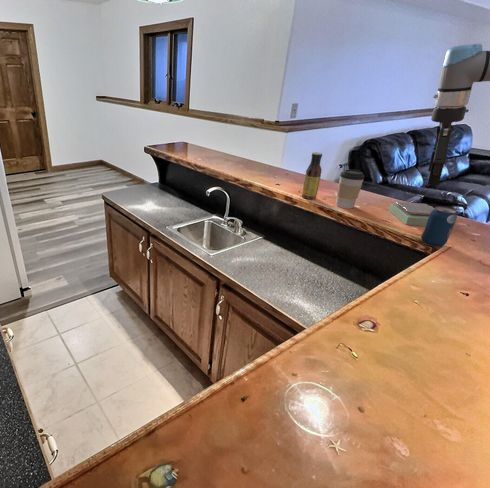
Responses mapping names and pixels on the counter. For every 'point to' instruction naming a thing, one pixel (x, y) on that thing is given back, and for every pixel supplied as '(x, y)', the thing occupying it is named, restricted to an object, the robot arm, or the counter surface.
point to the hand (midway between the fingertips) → (433, 178)
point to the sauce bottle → (312, 177)
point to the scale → (408, 216)
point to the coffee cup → (349, 188)
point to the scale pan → (415, 208)
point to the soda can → (439, 226)
